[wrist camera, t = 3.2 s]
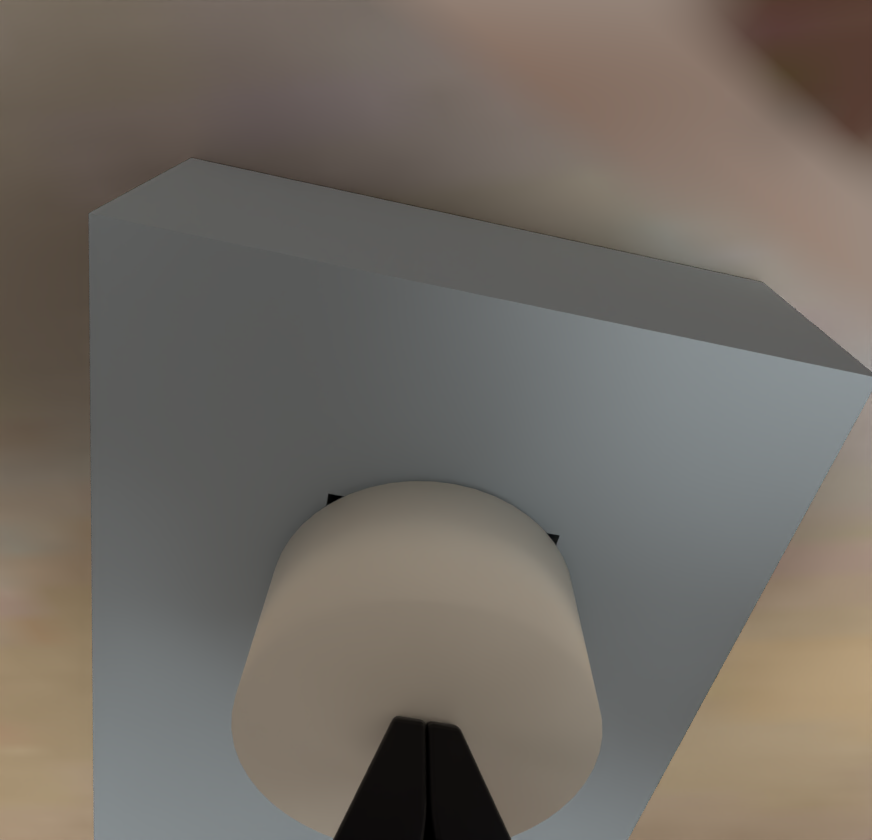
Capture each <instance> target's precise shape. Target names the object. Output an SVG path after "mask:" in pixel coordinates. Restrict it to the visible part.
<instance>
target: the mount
mask: <svg viewBox="0 0 872 840" xmlns="http://www.w3.org/2000/svg"><path fill="white" fill-rule="evenodd" d="M89 312H90V431H91V550H92V669H93V787H94V840H333V838H332V837H329V836H327V835H324V834H322V833H319V832H317V831H315V830H313V829H311V828H309V827H307V826H305V825H303V824H301V823H300V822H298V821H296V820H295V819H293V818H291V817H290V816H288V815H287V814H285V813H284V812H283V811H281V810H280V809H279V808H277V807H276V806H275V805H274V804H272V803H271V802H270V801H269V800H268V799H267V798H266V797H265V796H264V795H263V794H262V793H261V792H260V791H259V790H258V789H257V787H256V786H255V785H254V783H253V782H252V781H251V780H250V778H249V777H248V775H247V774H246V772H245V770H244V768H243V766H242V765H241V763H240V761H239V758H238V755H237V753H236V750H235V747H234V742H233V737H232V731H231V721H232V709H233V705H234V700H235V696H236V692H237V689H238V686H239V683H240V680H241V676H242V673H243V670H244V667H245V663H246V660H247V657H248V654H249V651H250V647H251V644H252V641H253V638H254V634H255V631H256V628H257V625H258V622H259V618H260V615H261V612H262V609H263V605H264V602H265V599H266V596H267V593H268V589H269V586H270V583H271V580H272V576H273V573H274V570H275V567H276V564H277V562H278V560H279V557H280V555H281V552H282V551H283V549H284V548H285V546H286V544H287V543H288V541H289V540H290V538H291V537H292V536H293V535H294V533H295V532H296V531H297V530H298V529H299V528H300V526H301V525H302V524H303V523H305V522H306V521H307V520H308V519H309V518H310V517H312V516H313V515H314V514H315V513H316V512H318V511H320V510H321V509H323V508H324V507H326V506H327V505H329V504H330V503H332V502H334V501H336V500H338V499H340V498H342V497H345V496H347V495H349V494H351V493H354V492H357V491H360V490H363V489H366V488H369V487H374V486H378V485H383V484H388V483H396V482H407V481H434V482H442V483H450V484H456V485H461V486H465V487H469V488H473V489H477V490H479V491H482V492H485V493H487V494H490V495H493V496H495V497H497V498H499V499H501V500H503V501H505V502H507V503H509V504H511V505H513V506H514V507H516V508H517V509H519V510H520V511H522V512H523V513H525V514H526V515H528V516H529V517H530V518H531V519H532V520H534V521H535V522H536V523H537V524H538V525H539V526H540V527H541V528H542V529H543V530H544V531H545V532H546V533H547V534H548V536H549V537H550V538H551V539H552V540H553V542H554V543H555V545H556V546H557V548H558V550H559V551H560V553H561V555H562V556H563V558H564V561H565V563H566V566H567V568H568V571H569V574H570V579H571V583H572V587H573V592H574V596H575V601H576V605H577V610H578V614H579V619H580V623H581V628H582V632H583V636H584V641H585V645H586V650H587V654H588V659H589V663H590V668H591V672H592V677H593V681H594V685H595V690H596V694H597V699H598V703H599V708H600V713H601V717H602V741H601V747H600V753H599V755H598V758H597V761H596V763H595V766H594V769H593V770H592V772H591V774H590V775H589V777H588V779H587V781H586V782H585V784H584V785H583V786H582V787H581V789H580V790H579V791H578V792H577V794H576V795H575V796H574V797H573V798H572V799H571V800H570V801H569V802H568V803H567V804H566V805H565V806H563V807H562V808H561V809H560V810H559V811H557V812H556V813H555V814H553V815H552V816H550V817H549V818H548V819H546V820H545V821H543V822H541V823H539V824H538V825H536V826H534V827H532V828H531V829H529V830H527V831H524V832H522V833H520V834H517V835H515V836H513V837H511V840H628V838H629V836H630V834H631V833H632V831H633V829H634V827H635V825H636V823H637V822H638V820H639V818H640V816H641V814H642V812H643V811H644V809H645V807H646V805H647V803H648V801H649V800H650V798H651V796H652V794H653V792H654V790H655V789H656V787H657V785H658V783H659V781H660V779H661V778H662V776H663V774H664V772H665V770H666V768H667V767H668V765H669V763H670V761H671V759H672V757H673V756H674V754H675V752H676V750H677V748H678V746H679V745H680V743H681V741H682V739H683V737H684V735H685V734H686V732H687V730H688V728H689V726H690V724H691V723H692V721H693V719H694V717H695V715H696V713H697V711H698V710H699V708H700V706H701V704H702V702H703V700H704V699H705V697H706V695H707V693H708V691H709V689H710V688H711V686H712V684H713V682H714V680H715V678H716V677H717V675H718V673H719V671H720V669H721V667H722V666H723V664H724V662H725V660H726V658H727V656H728V655H729V653H730V651H731V649H732V647H733V645H734V644H735V642H736V640H737V638H738V636H739V634H740V633H741V631H742V629H743V627H744V625H745V623H746V622H747V620H748V618H749V616H750V614H751V612H752V611H753V609H754V607H755V605H756V603H757V601H758V600H759V598H760V596H761V594H762V592H763V590H764V589H765V587H766V585H767V583H768V581H769V579H770V577H771V576H772V574H773V572H774V570H775V568H776V566H777V565H778V563H779V561H780V559H781V557H782V555H783V554H784V552H785V550H786V548H787V546H788V544H789V543H790V541H791V539H792V537H793V535H794V533H795V532H796V530H797V528H798V526H799V524H800V522H801V521H802V519H803V517H804V515H805V513H806V511H807V510H808V508H809V506H810V504H811V502H812V500H813V499H814V497H815V495H816V493H817V491H818V489H819V488H820V486H821V484H822V482H823V480H824V478H825V477H826V475H827V473H828V471H829V469H830V467H831V466H832V464H833V462H834V460H835V458H836V456H837V455H838V453H839V451H840V449H841V447H842V445H843V443H844V442H845V440H846V438H847V436H848V434H849V432H850V431H851V429H852V427H853V425H854V423H855V421H856V420H857V418H858V416H859V414H860V412H861V410H862V409H863V407H864V405H865V403H866V401H867V399H868V398H869V396H870V394H871V392H872V372H871V371H870V370H869V369H867V368H866V367H865V366H864V365H863V364H861V363H860V362H859V361H858V360H857V359H855V358H854V357H853V356H852V355H850V354H849V353H848V352H847V351H846V350H844V349H843V348H842V347H841V346H840V345H838V344H837V343H836V342H835V341H833V340H832V339H831V338H830V337H829V336H827V335H826V334H825V333H824V332H823V331H821V330H820V329H819V328H818V327H817V326H815V325H814V324H813V323H812V322H810V321H809V320H808V319H807V318H806V317H804V316H803V315H802V314H801V313H800V312H798V311H797V310H796V309H795V308H793V307H792V306H791V305H790V304H789V303H787V302H786V301H785V300H784V299H783V298H781V297H780V296H779V295H778V294H776V293H775V292H774V291H773V290H772V289H770V288H769V287H768V286H767V285H766V284H764V283H763V282H760V281H755V280H751V279H746V278H741V277H737V276H732V275H728V274H723V273H718V272H714V271H709V270H705V269H700V268H695V267H691V266H686V265H682V264H677V263H672V262H668V261H663V260H659V259H654V258H650V257H645V256H640V255H636V254H631V253H627V252H622V251H617V250H613V249H608V248H604V247H599V246H594V245H590V244H585V243H581V242H576V241H571V240H567V239H562V238H558V237H553V236H548V235H544V234H539V233H535V232H530V231H525V230H521V229H516V228H512V227H507V226H503V225H498V224H493V223H489V222H484V221H480V220H475V219H470V218H466V217H461V216H457V215H452V214H447V213H443V212H438V211H434V210H429V209H424V208H420V207H415V206H411V205H406V204H401V203H397V202H392V201H388V200H383V199H379V198H374V197H369V196H365V195H360V194H356V193H351V192H346V191H342V190H337V189H333V188H328V187H323V186H319V185H314V184H310V183H305V182H300V181H296V180H291V179H287V178H282V177H277V176H273V175H268V174H264V173H259V172H255V171H250V170H245V169H241V168H236V167H232V166H227V165H222V164H218V163H213V162H209V161H204V160H199V159H195V158H190V159H188V160H186V161H184V162H182V163H181V164H179V165H177V166H175V167H173V168H171V169H169V170H168V171H166V172H164V173H162V174H160V175H158V176H156V177H155V178H153V179H151V180H149V181H147V182H145V183H144V184H142V185H140V186H138V187H136V188H134V189H132V190H131V191H129V192H127V193H125V194H123V195H121V196H120V197H118V198H116V199H114V200H112V201H110V202H108V203H107V204H105V205H103V206H101V207H99V208H97V209H96V210H94V211H92V212H90V213H89Z"/></svg>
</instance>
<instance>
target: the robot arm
mask: <svg viewBox="0 0 872 840" xmlns="http://www.w3.org/2000/svg"><path fill="white" fill-rule="evenodd" d="M333 840H511V837H510V835H509V833H508V831H507V829H506V827H505V824H504V822H503V820H502V818H501V816H500V814H499V811H498V809H497V807H496V805H495V803H494V800H493V798H492V796H491V794H490V792H489V790H488V787H487V785H486V783H485V781H484V779H483V776H482V774H481V772H480V770H479V768H478V766H477V763H476V761H475V759H474V757H473V755H472V753H471V750H470V748H469V746H468V744H467V742H466V739H465V737H464V735H463V733H462V731H461V729H460V728H459V727H458V726H456V725H454V724H448V723H441V722H435V721H430V722H428V723H427V724H426V725H425V722H424V721H423V720H421V719H416V718H409V717H403V716H396V717H394V718H393V719H392V721H391V722H390V724H389V726H388V728H387V731H386V733H385V735H384V737H383V739H382V741H381V743H380V745H379V747H378V749H377V751H376V753H375V755H374V757H373V759H372V761H371V763H370V765H369V767H368V769H367V771H366V773H365V775H364V777H363V779H362V781H361V783H360V786H359V788H358V790H357V792H356V794H355V796H354V798H353V800H352V802H351V804H350V806H349V808H348V810H347V812H346V814H345V816H344V818H343V820H342V822H341V824H340V826H339V828H338V830H337V832H336V834H335V836H334V838H333Z"/></svg>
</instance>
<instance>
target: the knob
mask: <svg viewBox="0 0 872 840" xmlns="http://www.w3.org/2000/svg"><path fill="white" fill-rule="evenodd" d="M396 716H403V717H409V718H416V719H421V720H423V721H424V722H425V725H426V724H427V723H428V722H430V721H435V722H441V723H448V724H454V725H456V726H458V727H459V728H460V729H461V731H462V733H463V735H464V737H465V739H466V742H467V744H468V746H469V748H470V750H471V753H472V755H473V757H474V759H475V761H476V763H477V766H478V768H479V770H480V772H481V774H482V776H483V779H484V781H485V783H486V785H487V787H488V790H489V792H490V794H491V796H492V798H493V800H494V803H495V805H496V807H497V809H498V811H499V814H500V816H501V818H502V820H503V822H504V824H505V827H506V829H507V831H508V833H509V835H510V837H513V836H515V835H517V834H520V833H522V832H524V831H527V830H529V829H531V828H532V827H534V826H536V825H538V824H539V823H541V822H543V821H545V820H546V819H548V818H549V817H550V816H552V815H553V814H555V813H556V812H557V811H559V810H560V809H561V808H562V807H563V806H565V805H566V804H567V803H568V802H569V801H570V800H571V799H572V798H573V797H574V796H575V795H576V794H577V792H578V791H579V790H580V789H581V787H582V786H583V785H584V784H585V782H586V781H587V779H588V777H589V775H590V774H591V772H592V770H593V769H594V766H595V763H596V761H597V758H598V755H599V753H600V747H601V741H602V717H601V713H600V708H599V703H598V699H597V694H596V690H595V685H594V681H593V677H592V672H591V668H590V663H589V659H588V654H587V650H586V645H585V641H584V636H583V632H582V628H581V623H580V619H579V614H578V610H577V605H576V601H575V596H574V592H573V587H572V583H571V579H570V574H569V571H568V568H567V566H566V563H565V561H564V558H563V556H562V555H561V553H560V551H559V550H558V548H557V546H556V545H555V543H554V542H553V540H552V539H551V538H550V537H549V536H548V534H547V533H546V532H545V531H544V530H543V529H542V528H541V527H540V526H539V525H538V524H537V523H536V522H535V521H534V520H532V519H531V518H530V517H529V516H528V515H526V514H525V513H523V512H522V511H520V510H519V509H517V508H516V507H514V506H513V505H511V504H509V503H507V502H505V501H503V500H501V499H499V498H497V497H495V496H493V495H490V494H487V493H485V492H482V491H479V490H477V489H473V488H469V487H465V486H461V485H456V484H450V483H442V482H434V481H407V482H396V483H388V484H383V485H378V486H374V487H369V488H366V489H363V490H360V491H357V492H354V493H351V494H349V495H347V496H345V497H342V498H340V499H338V500H336V501H334V502H332V503H330V504H329V505H327V506H326V507H324V508H323V509H321V510H320V511H318V512H316V513H315V514H314V515H313V516H312V517H310V518H309V519H308V520H307V521H306V522H305V523H303V524H302V525H301V526H300V528H299V529H298V530H297V531H296V532H295V533H294V535H293V536H292V537H291V538H290V540H289V541H288V543H287V544H286V546H285V548H284V549H283V551H282V552H281V555H280V557H279V560H278V562H277V564H276V567H275V570H274V573H273V576H272V580H271V583H270V586H269V589H268V593H267V596H266V599H265V602H264V605H263V609H262V612H261V615H260V618H259V622H258V625H257V628H256V631H255V634H254V638H253V641H252V644H251V647H250V651H249V654H248V657H247V660H246V663H245V667H244V670H243V673H242V676H241V680H240V683H239V686H238V689H237V692H236V696H235V700H234V705H233V709H232V721H231V731H232V737H233V742H234V747H235V750H236V753H237V755H238V758H239V761H240V763H241V765H242V766H243V768H244V770H245V772H246V774H247V775H248V777H249V778H250V780H251V781H252V782H253V783H254V785H255V786H256V787H257V789H258V790H259V791H260V792H261V793H262V794H263V795H264V796H265V797H266V798H267V799H268V800H269V801H270V802H271V803H272V804H274V805H275V806H276V807H277V808H279V809H280V810H281V811H283V812H284V813H285V814H287V815H288V816H290V817H291V818H293V819H295V820H296V821H298V822H300V823H301V824H303V825H305V826H307V827H309V828H311V829H313V830H315V831H317V832H319V833H322V834H324V835H327V836H329V837H332V838H334V836H335V834H336V832H337V830H338V828H339V826H340V824H341V822H342V820H343V818H344V816H345V814H346V812H347V810H348V808H349V806H350V804H351V802H352V800H353V798H354V796H355V794H356V792H357V790H358V788H359V786H360V783H361V781H362V779H363V777H364V775H365V773H366V771H367V769H368V767H369V765H370V763H371V761H372V759H373V757H374V755H375V753H376V751H377V749H378V747H379V745H380V743H381V741H382V739H383V737H384V735H385V733H386V731H387V728H388V726H389V724H390V722H391V721H392V719H393V718H394V717H396Z"/></svg>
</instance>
